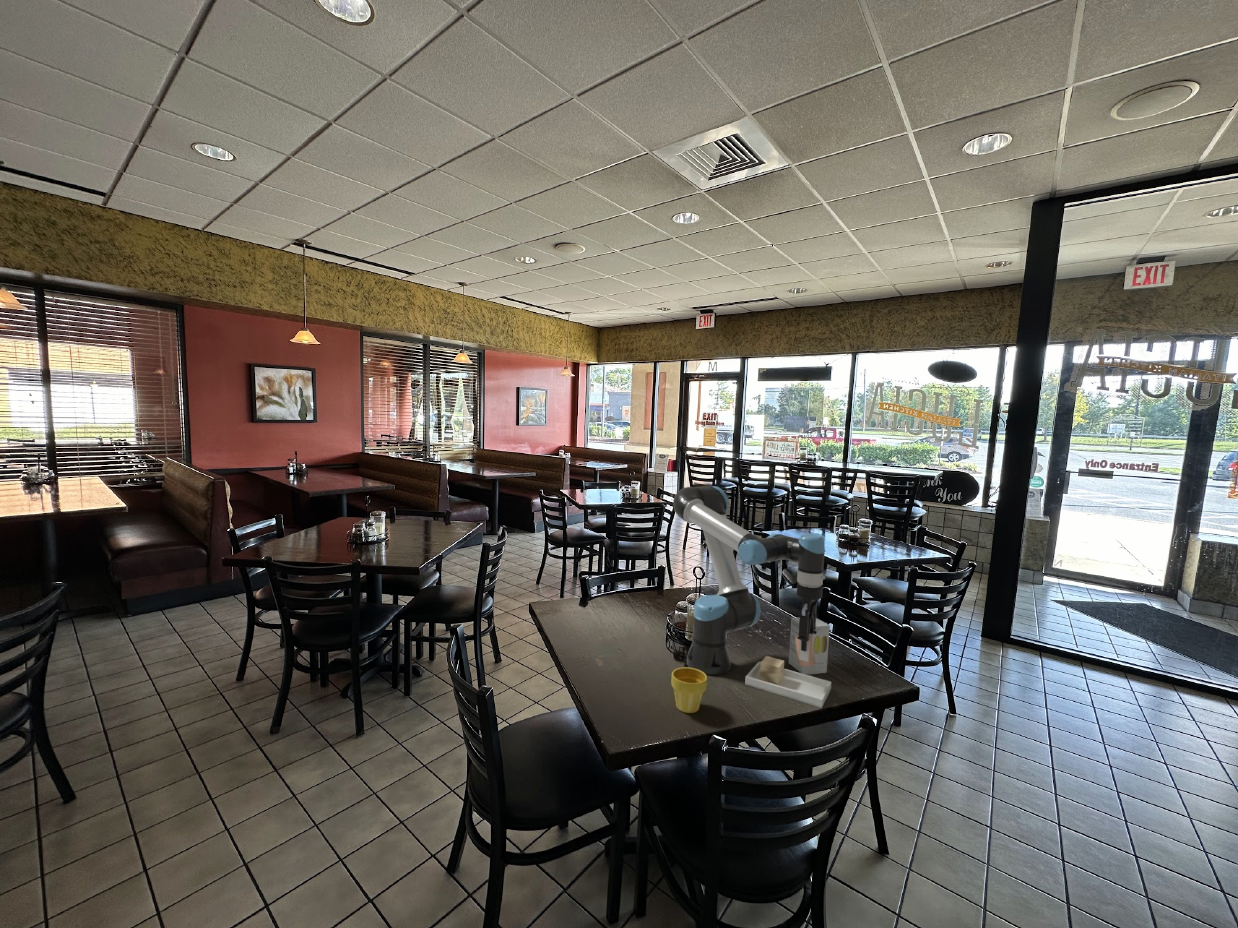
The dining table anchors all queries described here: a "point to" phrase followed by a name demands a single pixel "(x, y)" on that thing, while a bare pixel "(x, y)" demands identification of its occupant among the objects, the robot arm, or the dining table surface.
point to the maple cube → (772, 670)
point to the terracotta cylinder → (811, 653)
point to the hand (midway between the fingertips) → (806, 656)
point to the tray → (793, 686)
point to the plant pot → (688, 688)
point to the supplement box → (818, 646)
